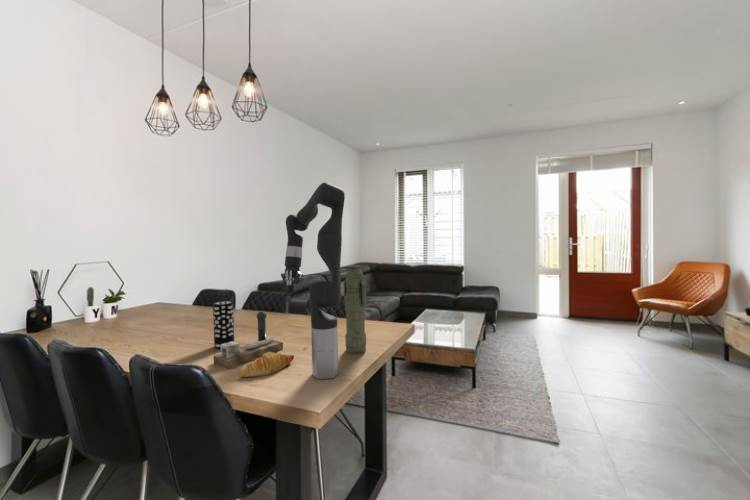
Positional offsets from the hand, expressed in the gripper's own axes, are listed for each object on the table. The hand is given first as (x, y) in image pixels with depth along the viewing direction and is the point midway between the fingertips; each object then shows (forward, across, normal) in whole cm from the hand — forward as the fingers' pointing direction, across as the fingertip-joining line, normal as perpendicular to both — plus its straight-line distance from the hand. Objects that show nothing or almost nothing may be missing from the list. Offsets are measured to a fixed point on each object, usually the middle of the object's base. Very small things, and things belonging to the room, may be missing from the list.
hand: (289, 293), depth 154 cm
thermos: (+23, -32, -12) cm, 41 cm away
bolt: (+23, +3, +11) cm, 25 cm away
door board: (+27, +3, +15) cm, 31 cm away
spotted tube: (+26, +24, +14) cm, 38 cm away
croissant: (+29, -15, +21) cm, 39 cm away
